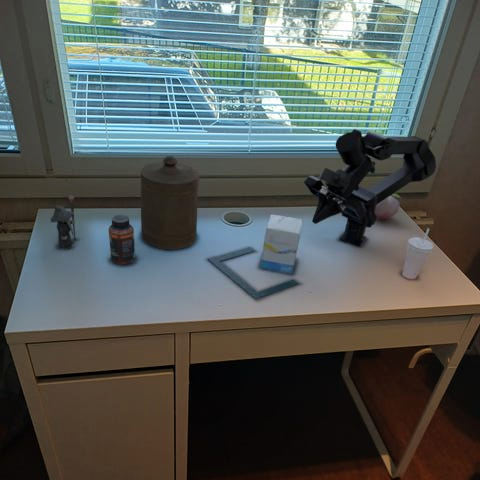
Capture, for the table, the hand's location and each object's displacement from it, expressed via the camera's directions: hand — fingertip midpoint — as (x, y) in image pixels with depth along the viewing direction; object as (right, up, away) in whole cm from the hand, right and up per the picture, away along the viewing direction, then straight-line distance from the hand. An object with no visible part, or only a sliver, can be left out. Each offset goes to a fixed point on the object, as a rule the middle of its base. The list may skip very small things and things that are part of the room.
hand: (313, 222), depth 124 cm
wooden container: (-39, -3, +6) cm, 39 cm away
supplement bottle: (-49, -11, -5) cm, 50 cm away
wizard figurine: (-64, -6, -2) cm, 64 cm away
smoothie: (+26, -14, +2) cm, 29 cm away
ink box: (-9, -11, +1) cm, 14 cm away
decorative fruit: (+26, +7, +29) cm, 40 cm away
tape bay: (-16, -13, -4) cm, 21 cm away
